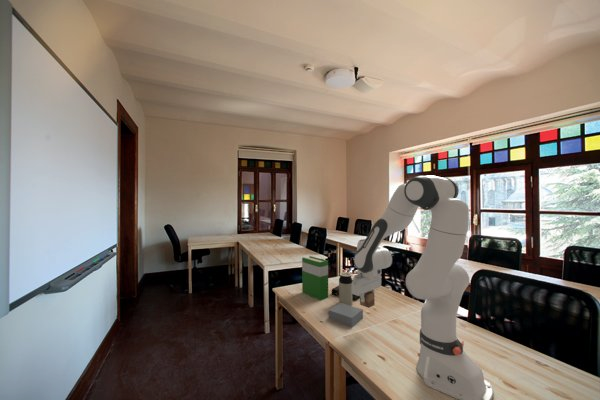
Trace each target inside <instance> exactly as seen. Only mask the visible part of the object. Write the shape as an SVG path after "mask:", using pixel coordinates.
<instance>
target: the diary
mask: <svg viewBox="0 0 600 400" xmlns="http://www.w3.org/2000/svg"><path fill="white" fill-rule="evenodd" d="M352 281H353V279H352ZM336 294H337V295H338V297H339V285H337V286H335V287H333V288H332V289H331V295H332V296H333V295H334V296H337V295H336ZM358 300H360V296H357V295H354V294H352V301H355V302H356V301H358Z"/></svg>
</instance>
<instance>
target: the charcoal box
mask: <svg viewBox="0 0 600 400" xmlns="http://www.w3.org/2000/svg"><path fill="white" fill-rule="evenodd" d="M363 319H364V310H363V309H362V308H359V307H356V306H352V305H346V304H343V303H339V302H338V303H337V304H336V305H334V306H332V307H331V308H330V309H328V320H331V321H333V322H337V323H339V324H342V325H345V326H347V327H351V328H353V327H355V326H356V325H357V324H358V323H359V322H361V320H363Z"/></svg>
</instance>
